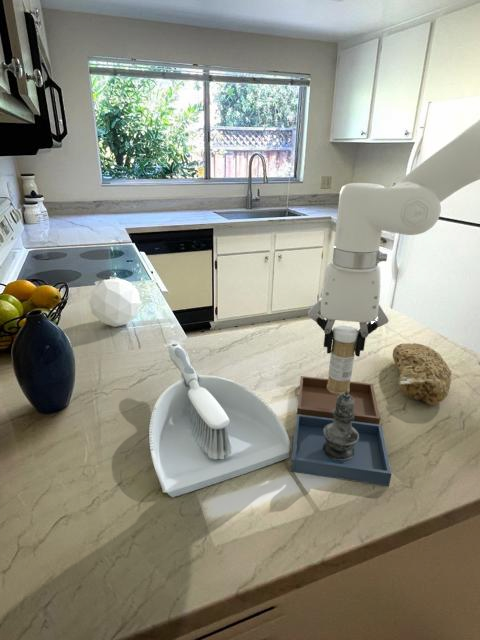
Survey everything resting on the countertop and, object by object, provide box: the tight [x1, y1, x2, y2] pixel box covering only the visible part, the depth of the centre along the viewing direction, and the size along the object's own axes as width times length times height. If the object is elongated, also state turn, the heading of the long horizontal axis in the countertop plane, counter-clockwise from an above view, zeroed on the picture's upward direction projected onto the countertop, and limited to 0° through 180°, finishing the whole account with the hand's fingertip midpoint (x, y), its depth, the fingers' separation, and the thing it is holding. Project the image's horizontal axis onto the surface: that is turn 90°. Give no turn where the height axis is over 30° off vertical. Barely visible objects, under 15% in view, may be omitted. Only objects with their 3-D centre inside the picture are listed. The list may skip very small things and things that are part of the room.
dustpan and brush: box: [148, 342, 292, 499], centre depth 75 cm, size 23×33×10 cm
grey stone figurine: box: [323, 391, 359, 461], centre depth 67 cm, size 6×6×12 cm
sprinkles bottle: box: [327, 324, 359, 395], centre depth 78 cm, size 5×5×13 cm
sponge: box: [391, 342, 452, 406], centre depth 90 cm, size 13×8×20 cm
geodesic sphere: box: [88, 275, 141, 328], centre depth 115 cm, size 15×14×14 cm
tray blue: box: [290, 413, 392, 487], centre depth 69 cm, size 15×12×2 cm
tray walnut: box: [296, 375, 381, 425], centre depth 81 cm, size 15×12×2 cm
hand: (342, 350), depth 77 cm, fingers closed on sprinkles bottle, 4 cm apart
